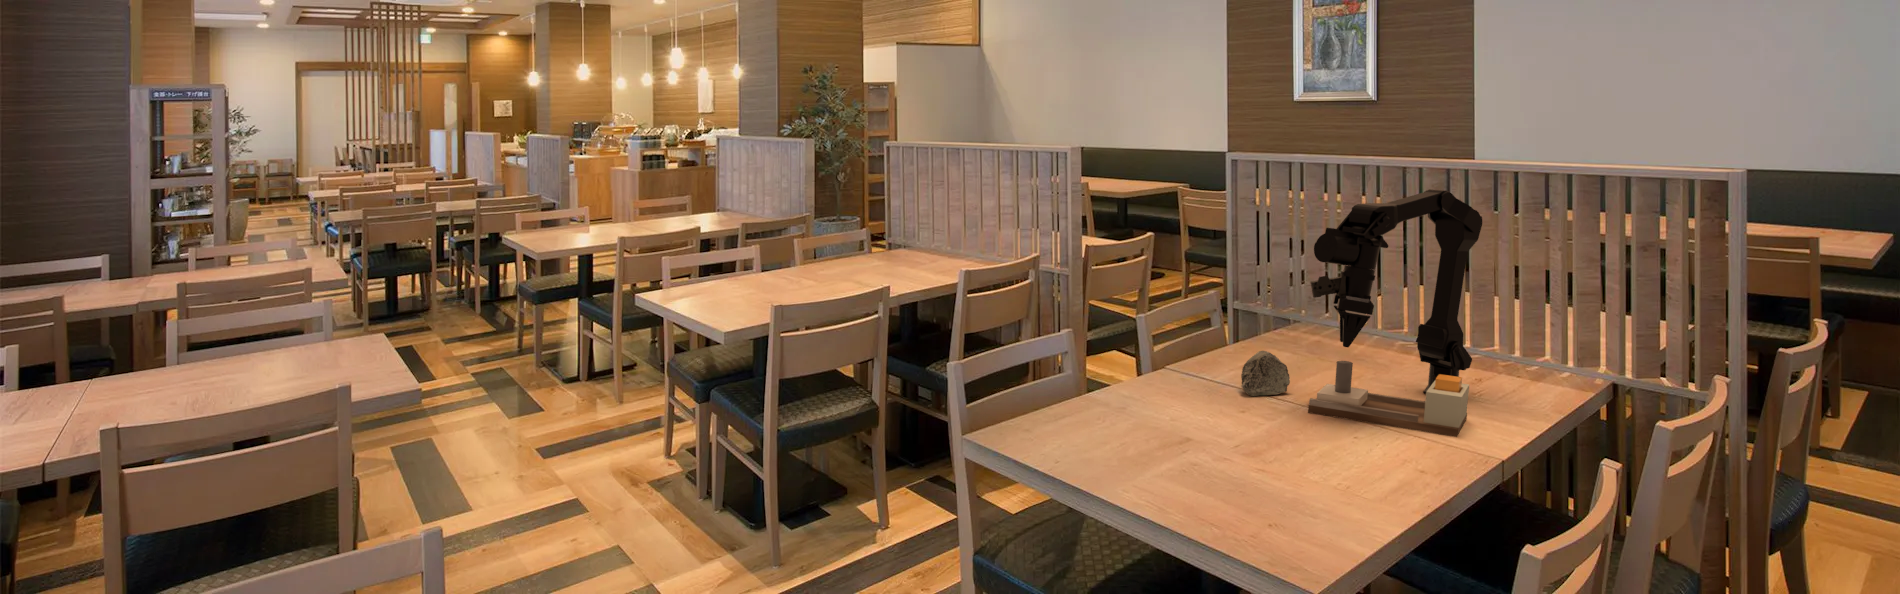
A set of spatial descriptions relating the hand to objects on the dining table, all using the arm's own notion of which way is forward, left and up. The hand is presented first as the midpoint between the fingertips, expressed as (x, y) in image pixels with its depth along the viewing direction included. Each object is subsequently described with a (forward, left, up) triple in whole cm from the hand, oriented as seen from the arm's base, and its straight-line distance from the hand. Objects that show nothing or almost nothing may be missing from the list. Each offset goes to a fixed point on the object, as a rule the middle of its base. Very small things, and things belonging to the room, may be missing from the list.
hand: (1344, 344), depth 195 cm
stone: (-5, -17, -14) cm, 23 cm away
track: (-1, +9, -14) cm, 16 cm away
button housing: (-1, +19, -12) cm, 23 cm away
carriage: (-1, 0, -12) cm, 12 cm away
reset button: (-1, +19, -9) cm, 21 cm away
